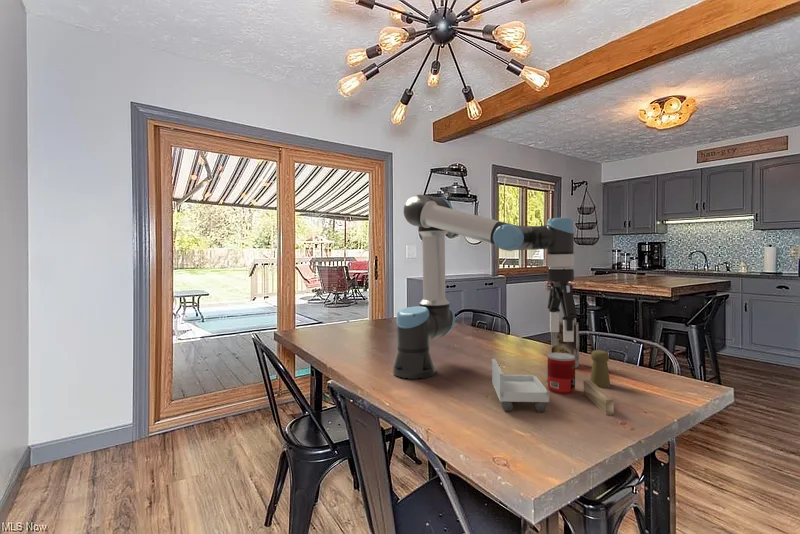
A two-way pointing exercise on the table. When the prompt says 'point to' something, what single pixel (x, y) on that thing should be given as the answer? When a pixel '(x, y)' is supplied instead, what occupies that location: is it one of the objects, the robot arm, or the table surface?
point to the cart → (518, 389)
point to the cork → (600, 368)
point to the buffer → (598, 397)
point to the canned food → (561, 373)
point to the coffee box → (566, 347)
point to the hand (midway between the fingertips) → (561, 336)
